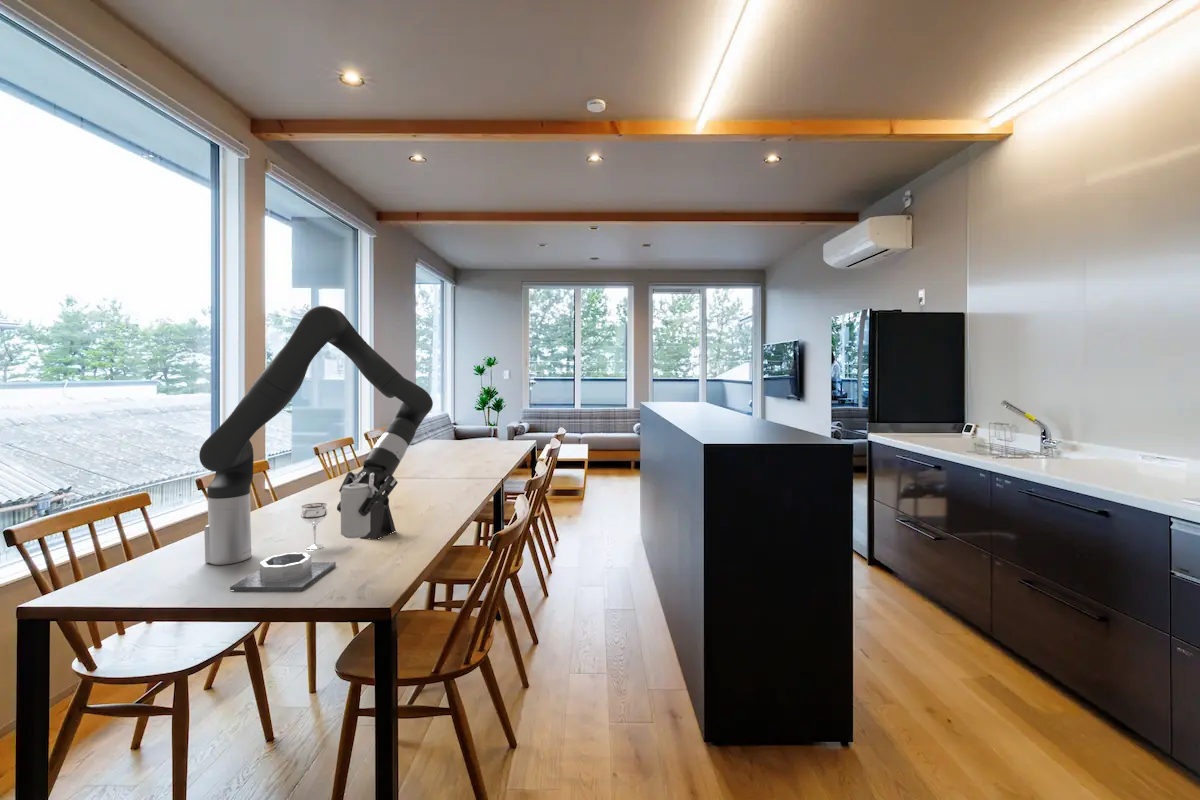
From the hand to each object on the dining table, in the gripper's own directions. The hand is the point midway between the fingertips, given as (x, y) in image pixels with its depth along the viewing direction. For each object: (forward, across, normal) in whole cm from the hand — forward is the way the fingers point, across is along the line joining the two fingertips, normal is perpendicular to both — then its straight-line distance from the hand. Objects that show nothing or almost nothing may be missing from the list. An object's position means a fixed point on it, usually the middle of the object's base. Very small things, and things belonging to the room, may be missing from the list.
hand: (351, 512), depth 125 cm
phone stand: (-11, -22, +36) cm, 43 cm away
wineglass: (0, -30, +24) cm, 39 cm away
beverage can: (+3, 0, +6) cm, 6 cm away
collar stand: (+14, -17, +10) cm, 24 cm away
